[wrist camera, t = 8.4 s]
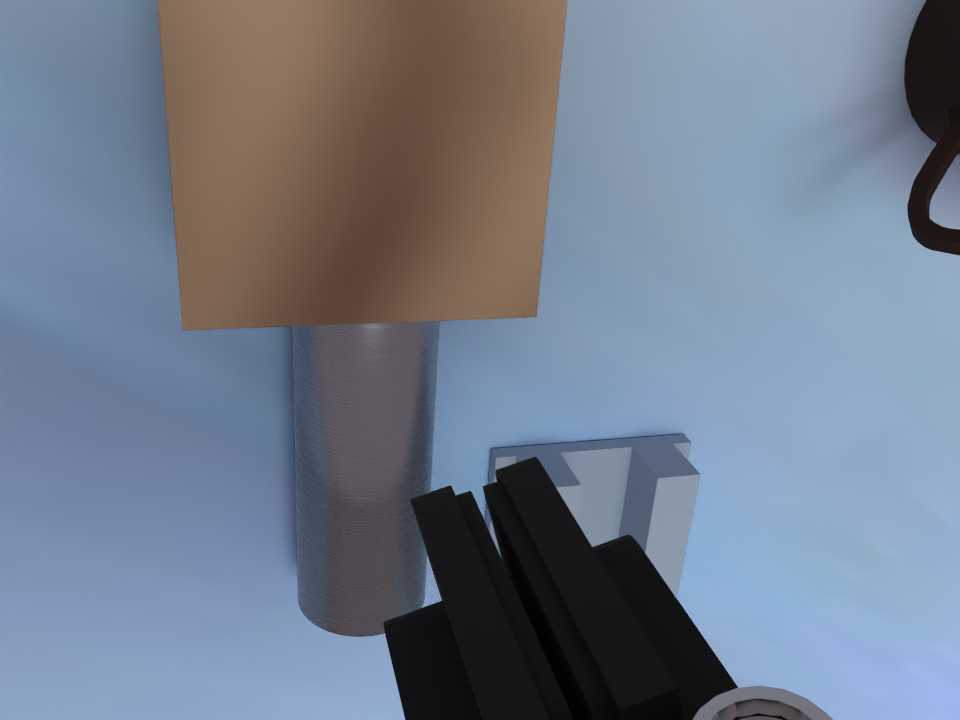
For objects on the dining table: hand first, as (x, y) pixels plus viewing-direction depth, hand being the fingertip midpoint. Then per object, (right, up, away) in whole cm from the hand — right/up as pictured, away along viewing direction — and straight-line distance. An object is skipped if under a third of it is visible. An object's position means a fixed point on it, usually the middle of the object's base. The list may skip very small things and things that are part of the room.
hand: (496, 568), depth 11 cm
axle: (-4, +5, +14) cm, 16 cm away
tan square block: (-4, +10, +12) cm, 16 cm away
